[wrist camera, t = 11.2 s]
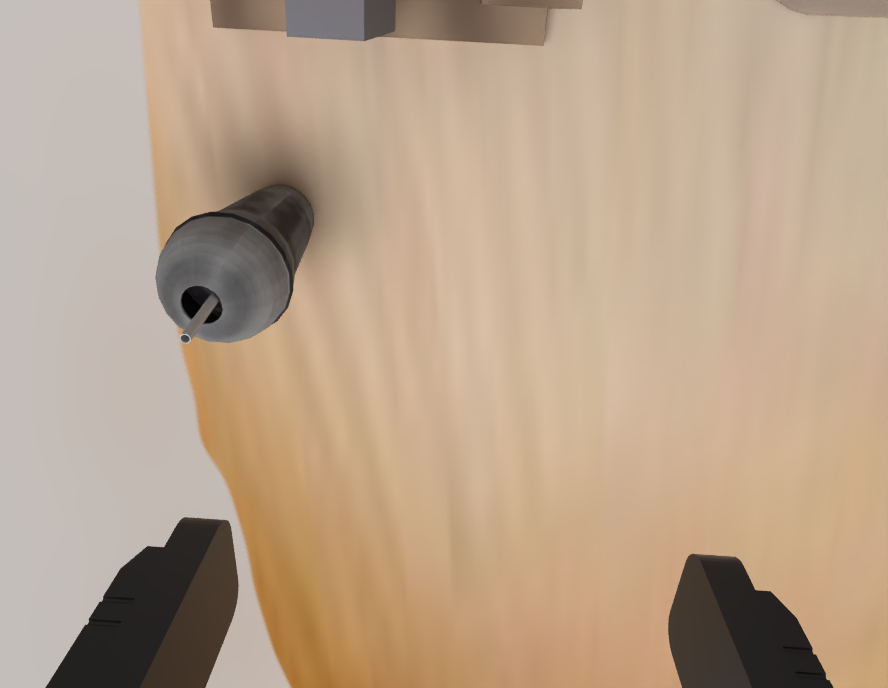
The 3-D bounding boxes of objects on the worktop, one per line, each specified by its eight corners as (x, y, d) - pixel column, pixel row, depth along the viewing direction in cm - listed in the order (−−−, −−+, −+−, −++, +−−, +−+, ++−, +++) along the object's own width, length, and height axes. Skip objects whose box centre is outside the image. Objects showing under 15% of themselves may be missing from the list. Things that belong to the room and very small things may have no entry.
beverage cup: (211, 189, 45) (42, 306, 27) (302, 147, 44) (184, 243, 26) (264, 278, 48) (143, 436, 30) (351, 242, 47) (275, 387, 29)
